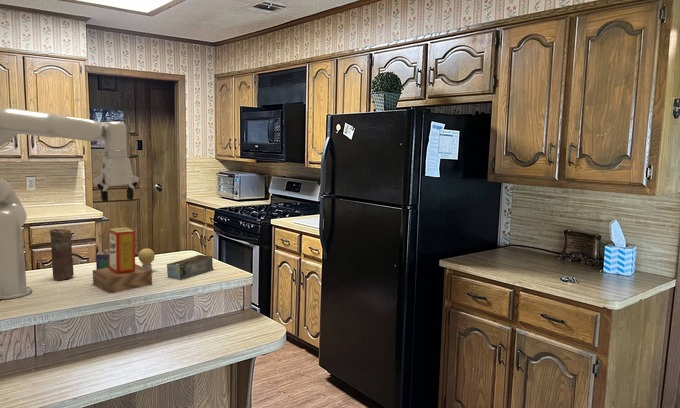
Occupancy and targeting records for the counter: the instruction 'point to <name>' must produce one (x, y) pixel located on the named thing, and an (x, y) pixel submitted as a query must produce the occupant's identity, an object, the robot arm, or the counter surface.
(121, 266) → the baking soda box
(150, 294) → the counter surface
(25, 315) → the counter surface
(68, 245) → the candle
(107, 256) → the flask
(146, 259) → the light bulb
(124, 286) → the walnut riser block
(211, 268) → the grey rectangular block
